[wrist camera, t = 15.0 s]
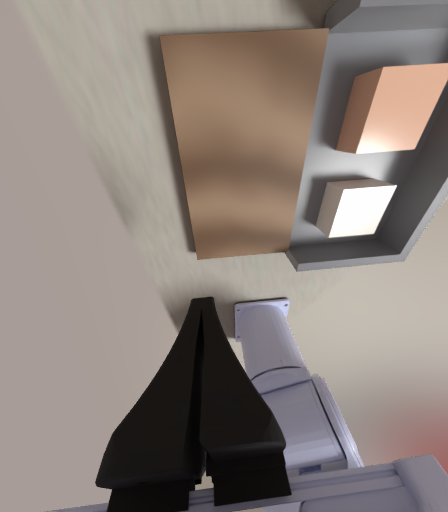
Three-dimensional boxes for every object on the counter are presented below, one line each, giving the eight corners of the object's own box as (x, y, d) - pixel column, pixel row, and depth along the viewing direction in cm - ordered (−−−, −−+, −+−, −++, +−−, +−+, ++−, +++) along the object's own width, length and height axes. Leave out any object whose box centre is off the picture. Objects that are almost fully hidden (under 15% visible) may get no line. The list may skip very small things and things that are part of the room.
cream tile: (356, 222, 20) (373, 233, 18) (315, 226, 19) (328, 237, 17) (374, 178, 17) (397, 185, 15) (327, 182, 17) (344, 189, 15)
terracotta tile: (387, 146, 15) (414, 149, 13) (335, 150, 15) (355, 153, 13) (416, 72, 13) (456, 62, 11) (354, 76, 13) (383, 67, 11)
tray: (378, 244, 22) (404, 261, 19) (284, 252, 22) (296, 271, 19) (502, 5, 12) (598, -35, 9) (326, 11, 11) (367, -28, 8)
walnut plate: (284, 245, 21) (288, 251, 20) (197, 253, 21) (197, 259, 20) (319, 36, 12) (329, 28, 11) (163, 43, 11) (159, 35, 10)
